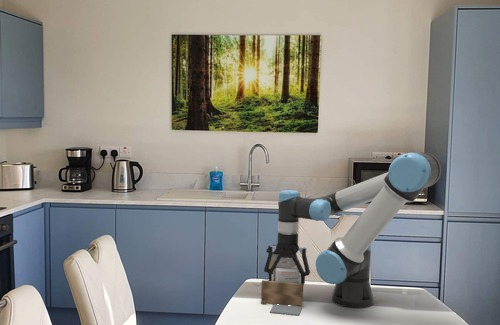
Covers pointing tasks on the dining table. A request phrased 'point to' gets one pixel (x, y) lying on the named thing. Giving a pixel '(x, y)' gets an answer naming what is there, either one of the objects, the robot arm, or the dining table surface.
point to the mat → (286, 309)
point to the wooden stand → (282, 293)
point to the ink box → (286, 272)
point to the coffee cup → (274, 257)
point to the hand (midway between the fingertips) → (286, 292)
